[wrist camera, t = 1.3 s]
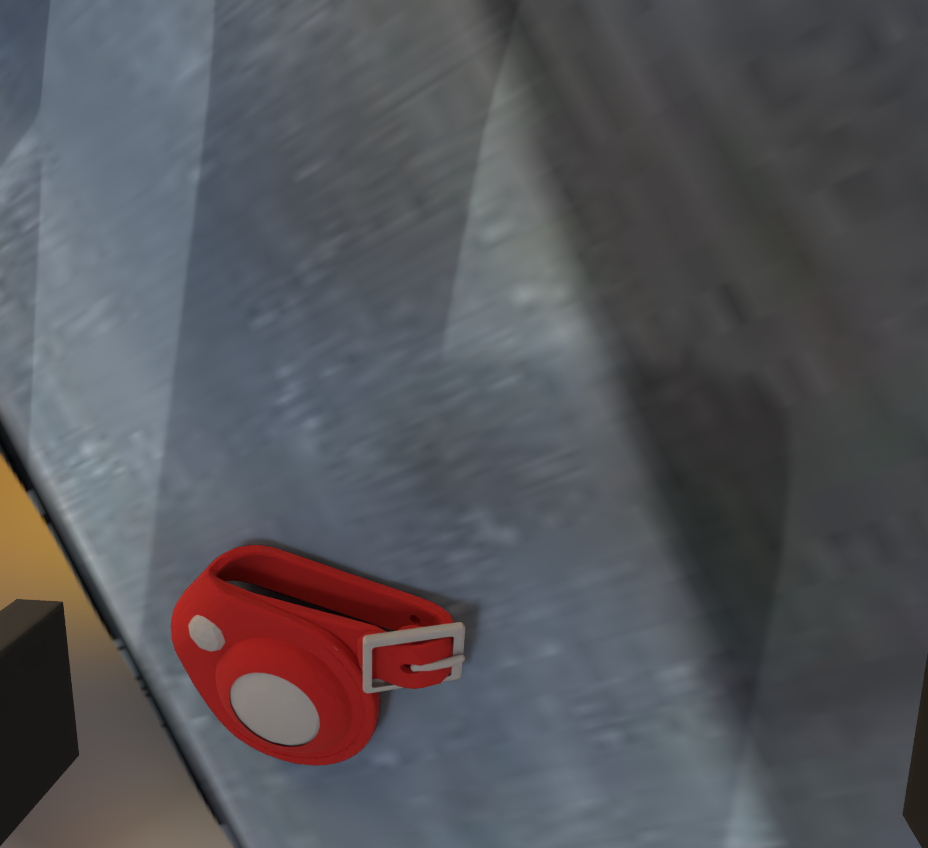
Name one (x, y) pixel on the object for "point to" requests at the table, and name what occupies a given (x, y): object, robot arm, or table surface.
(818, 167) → the table surface
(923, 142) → the table surface
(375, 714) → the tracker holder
